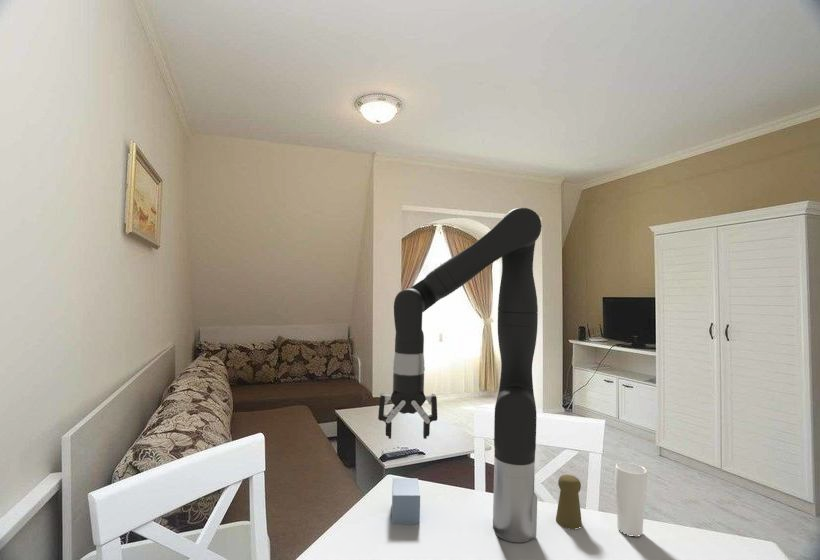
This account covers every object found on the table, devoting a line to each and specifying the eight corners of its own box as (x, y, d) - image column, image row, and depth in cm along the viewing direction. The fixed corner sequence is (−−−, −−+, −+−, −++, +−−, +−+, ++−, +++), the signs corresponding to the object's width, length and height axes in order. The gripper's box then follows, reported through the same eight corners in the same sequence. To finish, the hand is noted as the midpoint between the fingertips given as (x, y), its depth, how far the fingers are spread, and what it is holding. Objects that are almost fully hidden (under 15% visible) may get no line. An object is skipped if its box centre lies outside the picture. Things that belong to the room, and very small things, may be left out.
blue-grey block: (391, 510, 108) (392, 478, 108) (417, 510, 108) (417, 478, 108) (391, 530, 99) (392, 495, 99) (419, 530, 100) (420, 495, 100)
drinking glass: (650, 542, 97) (651, 475, 97) (618, 537, 99) (619, 472, 99) (640, 525, 104) (641, 463, 104) (610, 521, 105) (611, 460, 105)
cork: (581, 518, 107) (581, 473, 107) (583, 531, 101) (583, 484, 101) (555, 513, 108) (556, 470, 109) (555, 526, 103) (556, 480, 103)
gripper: (436, 368, 108) (434, 432, 108) (379, 367, 108) (378, 432, 107) (439, 374, 101) (438, 443, 101) (379, 373, 100) (377, 443, 100)
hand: (407, 437), depth 104 cm, fingers open, 8 cm apart
